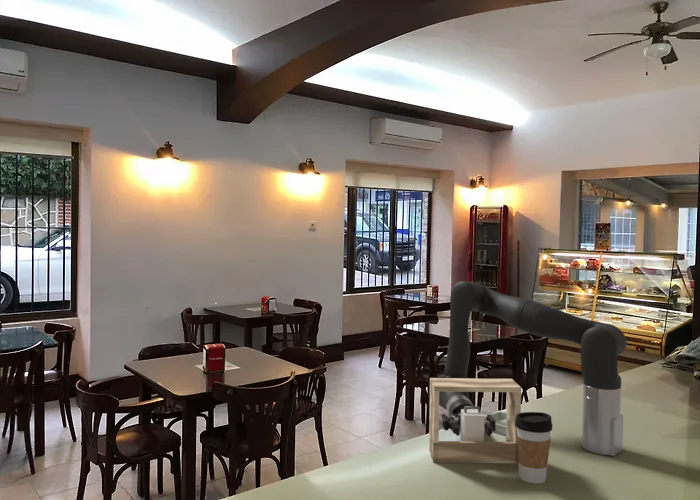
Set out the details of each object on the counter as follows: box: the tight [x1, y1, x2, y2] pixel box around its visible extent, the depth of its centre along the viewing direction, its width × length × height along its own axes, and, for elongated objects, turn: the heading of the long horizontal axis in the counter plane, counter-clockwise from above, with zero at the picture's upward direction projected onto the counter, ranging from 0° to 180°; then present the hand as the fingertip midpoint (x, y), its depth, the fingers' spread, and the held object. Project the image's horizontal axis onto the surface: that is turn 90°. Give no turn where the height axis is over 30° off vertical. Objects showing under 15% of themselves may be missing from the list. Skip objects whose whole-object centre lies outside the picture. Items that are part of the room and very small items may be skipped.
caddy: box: [459, 405, 485, 442], centre depth 147 cm, size 5×5×12 cm
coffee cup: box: [515, 411, 554, 485], centre depth 133 cm, size 8×8×15 cm
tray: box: [484, 410, 507, 437], centre depth 167 cm, size 12×12×2 cm
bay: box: [428, 377, 522, 464], centre depth 146 cm, size 8×22×19 cm, turn 90°
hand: (473, 432), depth 145 cm, fingers open, 7 cm apart
